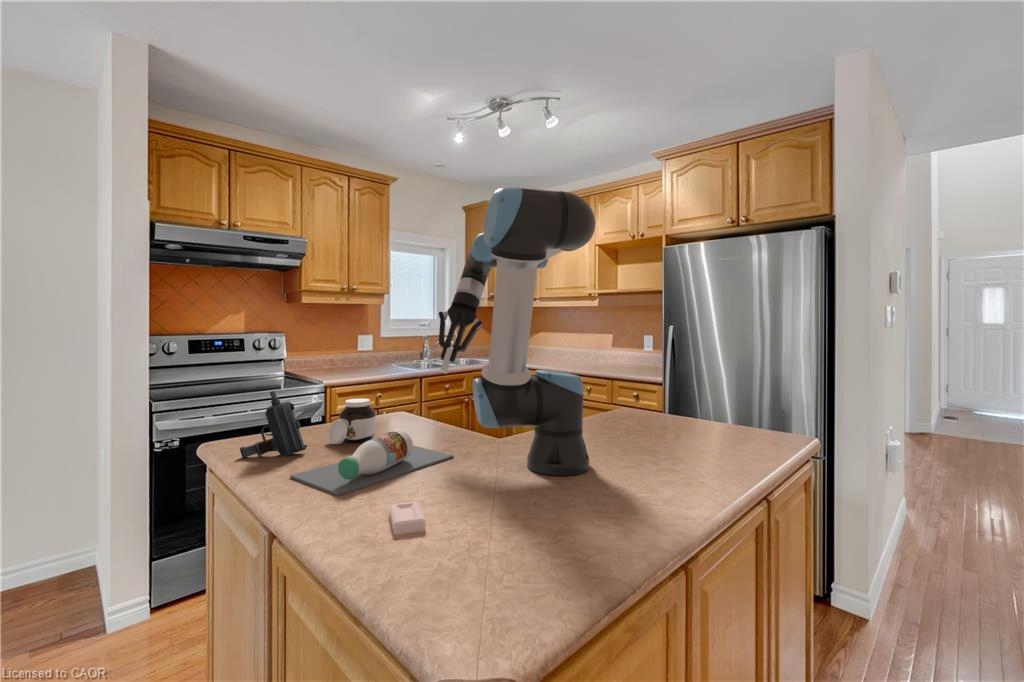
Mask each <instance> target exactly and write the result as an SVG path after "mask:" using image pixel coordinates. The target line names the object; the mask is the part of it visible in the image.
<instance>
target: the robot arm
mask: <svg viewBox="0 0 1024 682" xmlns="http://www.w3.org/2000/svg"><path fill="white" fill-rule="evenodd" d="M483 222H484V223H483V232H482V233H479V234H478V235H477V236H476V237H475V238H474V240H473V242H472V244H471V246H470V250H469V253H468V255H467V257H466V260H465V264H464V267H463V270H462V273H461V276H460V278H459V281H458V285H457V287H456V290H455V293H454V296H453V299H452V302H451V306H450V307H449V308H448V309H447V310H446V311H439V312H438V316H439V320H440V321H439V330H438V343H439V346H440V347H441V348H443V349H442V351H441V355H440V359H441V360H442V363H441V367H440V372H441V373H442V374H446V375H447V374H448V371H449V368H450V365H451V363H455V361H456V358H457V356H458V355H457V354H458V353H460V352H462V353H464V352H465V351H466V350H467V348H468V346H469V345H470V343H471V342H472V340H473V339H474V338H475V335H476V333H477V332H478V331H479V330H480V329H482V327H483V323H482V321H481V320H479V319H478V318H477V314H478V313H477V312H478V309H479V306H480V303H481V302H480V301H481V299H482V297H483V293H484V290H485V286H486V282H487V280H488V277H489V274H490V271H492V268H496V271H495V281H494V295H493V304H492V305H493V307H492V319H491V330H490V331H491V332H490V342H489V355H488V363H487V364H486V365H484V366H483V367H482V369H481V372H480V377H476V378H473V380H472V397H473V398H472V399H473V406H474V410H475V414H476V418H477V422H478V423H479V425H480V426H482V427H483V428H486V429H487V428H488V429H489V428H491V429H492V428H496V429H501V428H516V427H530V426H531V427H532V426H534V435H533V439H532V441H531V444H530V448H529V452H528V454H527V457H526V466H527V468H528V469H529V470H530V471H533V472H534V473H537V474H541V475H546V476H555V477H557V476H558V477H561V476H562V477H566V476H575V475H581V474H584V473H586V472H588V471H589V470H590V457H589V454H588V450H587V447H586V444H585V440H584V436H583V432H584V431H583V428H584V427H583V425H584V423H583V421H584V419H583V418H584V417H583V416H584V396H585V394H584V381H583V379H582V378H581V376H579V375H577V374H572V373H569V372H563V371H555V370H547V369H536V370H535V372H534V373H533V375H534V376H532V372H531V371H530V370H529V369H528V367H527V363H528V361H527V360H528V355H529V354H528V352H529V343H530V336H531V326H532V318H533V309H534V300H535V299H534V298H535V291H536V290H535V289H536V283H537V282H536V281H537V273H538V269H544V268H546V266H547V264H548V262H549V259H550V258H552V257H554V256H556V255H559V254H560V253H563V252H574V251H576V250H579V249H580V248H583V247H584V246H585V245H587V244H588V243H589V242H590V241H591V240H592V238H593V235H594V234H595V229H596V217H595V214H594V211H593V209H592V208H591V206H590V204H589V203H588V202H587V201H586V200H585V199H583V198H582V197H580V196H579V195H577V194H575V193H572V192H569V191H563V190H560V191H559V190H558V191H557V190H556V191H555V190H546V189H545V190H544V189H533V188H522V187H519V186H517V187H502V188H498V189H497V190H495V191H494V193H492V195H491V197H490V199H489V201H488V204H487V208H486V211H485V215H484V221H483ZM448 317H449V320H450V327H449V329H448V332H447V335H445V333H446V321H447V320H448ZM470 325H472V326H471V328H470V330H469V331H468V333H467V335H466V336H465V338H464V339H463V336H464V334H465V332H466V328H467V327H469V326H470ZM458 327H459V329H458V330H457V328H458ZM456 330H457V331H458V332H457V333H456ZM455 333H456V334H457V335H456V338H455V340H454V344H453V346H452V347H453V348H451V345H452V342H453V339H454V335H455ZM445 336H446V339H445ZM462 340H463V341H462Z"/></svg>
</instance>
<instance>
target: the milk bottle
mask: <svg viewBox="0 0 1024 682" xmlns="http://www.w3.org/2000/svg"><path fill="white" fill-rule="evenodd" d="M413 444H414V443H413V439H412V437H411V435H410V434H409V433H408V432H406V430H403V429H393V430H390V431H388V432H385V433H383V434H381V435H377V436H375V437H374V438H373V437H372V438H371V439H370V440H369V441H366V442H362V443H361V444H360V445H359V446H358V447H357V448H356V449H355V451H354V453H353V454H352V455H349V456H347V457H344V458H342V459H341V460H340V461H338V462H339V464H338V471H339V473H340V475H341V476H342V477H343V478H344V479H352V478H354V477H356V476H358V475H359V474H366V475H371V474H376V473H379V472H381V471H383V470H385V469H387V468H389V467H391V466H393V465H395V464H397V463H399V462H401V461H403V460H404V459H406V458H408V457H409V456H410V454H411V452H412V450H413V446H414V445H413Z"/></svg>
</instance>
